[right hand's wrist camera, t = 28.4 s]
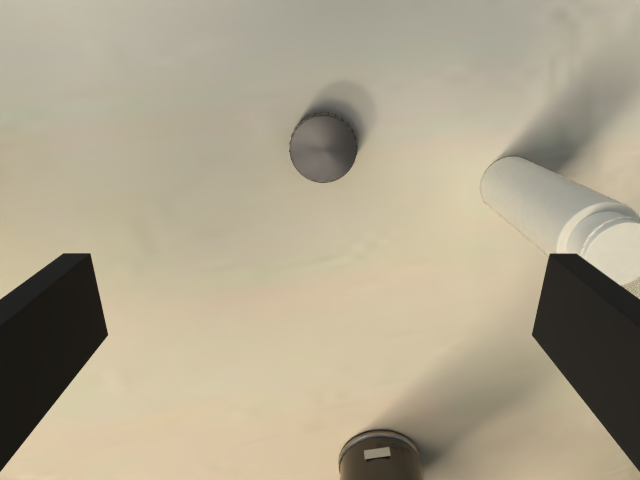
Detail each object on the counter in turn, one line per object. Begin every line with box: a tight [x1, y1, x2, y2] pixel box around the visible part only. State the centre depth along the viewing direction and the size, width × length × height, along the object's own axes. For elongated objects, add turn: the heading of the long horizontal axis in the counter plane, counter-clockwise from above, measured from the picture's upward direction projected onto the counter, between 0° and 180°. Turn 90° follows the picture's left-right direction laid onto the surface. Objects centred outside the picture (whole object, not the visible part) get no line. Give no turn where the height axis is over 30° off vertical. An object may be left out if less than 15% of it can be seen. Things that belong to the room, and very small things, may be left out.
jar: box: [480, 156, 640, 286], centre depth 31 cm, size 5×5×15 cm
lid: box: [289, 112, 357, 183], centre depth 36 cm, size 6×6×2 cm
